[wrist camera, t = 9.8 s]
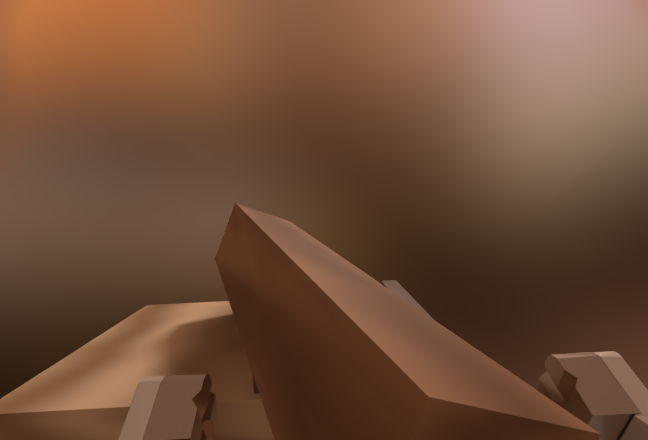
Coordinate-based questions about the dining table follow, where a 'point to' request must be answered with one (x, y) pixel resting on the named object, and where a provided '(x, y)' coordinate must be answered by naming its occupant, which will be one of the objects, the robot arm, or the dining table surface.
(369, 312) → the walnut block
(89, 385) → the zigzag patterned box
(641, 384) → the robot arm
